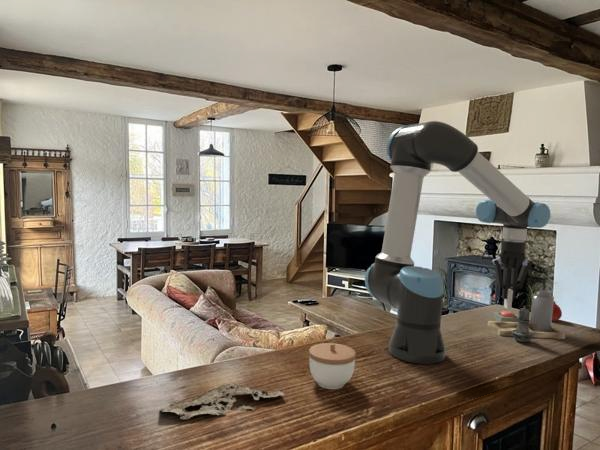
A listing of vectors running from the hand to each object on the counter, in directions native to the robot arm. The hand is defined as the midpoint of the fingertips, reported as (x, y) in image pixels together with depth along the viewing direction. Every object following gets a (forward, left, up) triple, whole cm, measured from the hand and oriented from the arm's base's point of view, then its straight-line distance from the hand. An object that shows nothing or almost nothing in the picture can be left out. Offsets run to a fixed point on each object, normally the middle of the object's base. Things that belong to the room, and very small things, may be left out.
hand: (507, 308), depth 156 cm
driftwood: (-84, -69, -6) cm, 109 cm away
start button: (0, 0, -5) cm, 5 cm away
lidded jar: (-62, -56, -6) cm, 83 cm away
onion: (+17, +4, -6) cm, 19 cm away
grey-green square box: (0, 0, -6) cm, 6 cm away
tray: (+1, -11, -6) cm, 13 cm away
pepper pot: (+6, -11, -5) cm, 14 cm away
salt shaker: (-4, -21, -6) cm, 22 cm away
